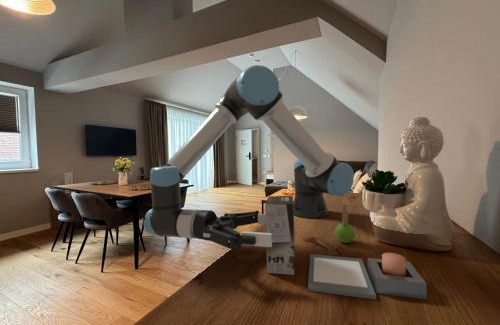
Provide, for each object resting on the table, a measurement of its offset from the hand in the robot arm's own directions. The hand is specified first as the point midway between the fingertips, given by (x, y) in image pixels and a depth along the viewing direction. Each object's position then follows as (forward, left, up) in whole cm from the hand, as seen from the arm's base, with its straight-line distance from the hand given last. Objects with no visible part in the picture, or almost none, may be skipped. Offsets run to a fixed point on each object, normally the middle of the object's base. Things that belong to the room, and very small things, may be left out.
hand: (277, 229), depth 54 cm
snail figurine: (-16, +17, -9) cm, 25 cm away
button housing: (+3, +24, -9) cm, 26 cm away
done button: (+3, +24, -7) cm, 25 cm away
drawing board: (+2, +13, -9) cm, 16 cm away
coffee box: (0, +1, -9) cm, 9 cm away
